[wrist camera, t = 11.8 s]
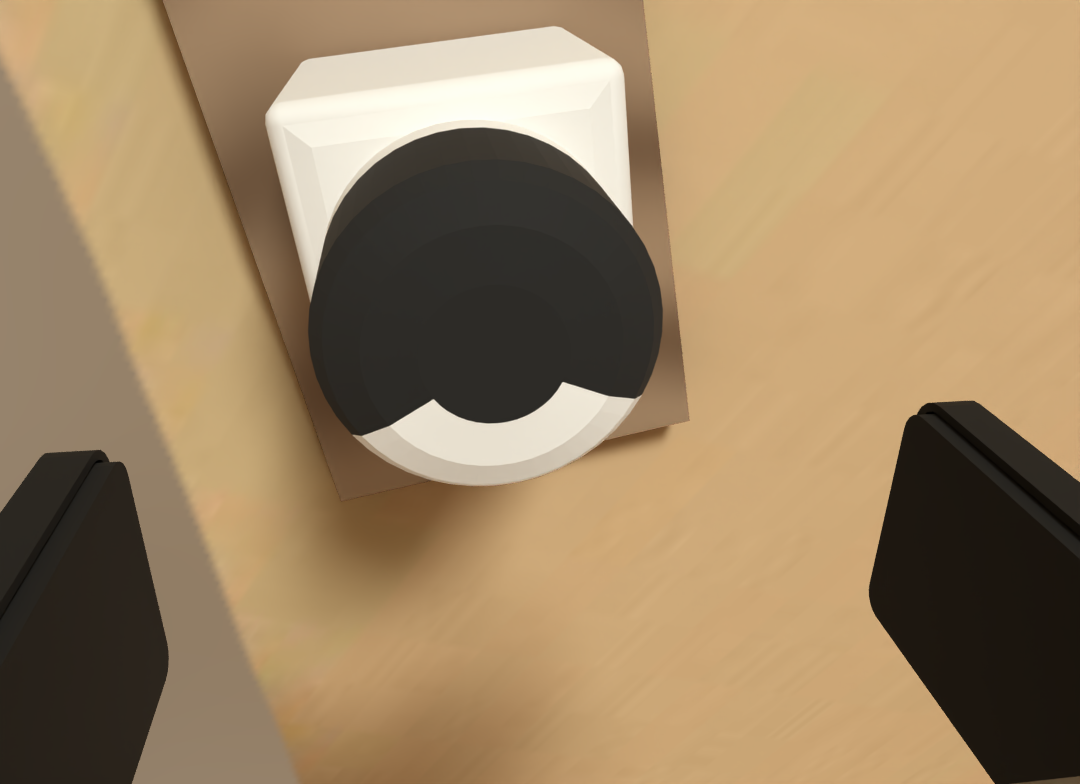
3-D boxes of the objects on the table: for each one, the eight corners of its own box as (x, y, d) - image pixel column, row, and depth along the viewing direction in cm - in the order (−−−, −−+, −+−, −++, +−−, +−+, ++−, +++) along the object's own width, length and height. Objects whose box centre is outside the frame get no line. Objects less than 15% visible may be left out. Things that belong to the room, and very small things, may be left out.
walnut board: (677, 399, 31) (689, 420, 30) (343, 476, 31) (341, 501, 29) (594, -301, 21) (608, -316, 20) (105, -206, 21) (86, -215, 20)
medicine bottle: (295, 59, 23) (209, 170, 12) (565, 23, 23) (703, 101, 13) (352, 310, 26) (324, 566, 16) (587, 274, 27) (711, 497, 16)
